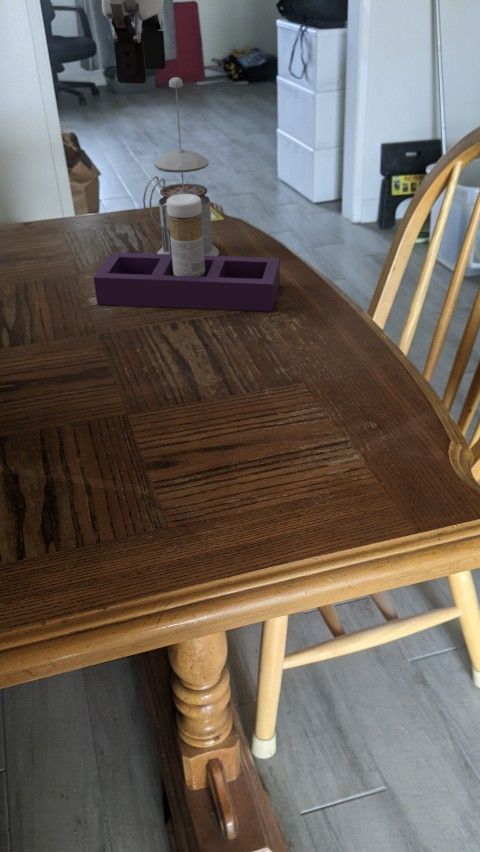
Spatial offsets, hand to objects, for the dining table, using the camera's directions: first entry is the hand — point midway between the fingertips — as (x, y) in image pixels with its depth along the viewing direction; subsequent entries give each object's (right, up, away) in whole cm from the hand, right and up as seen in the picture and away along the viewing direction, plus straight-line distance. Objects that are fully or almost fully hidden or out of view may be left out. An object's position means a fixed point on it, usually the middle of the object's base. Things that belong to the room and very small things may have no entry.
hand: (142, 75), depth 91 cm
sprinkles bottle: (+4, -21, +19) cm, 29 cm away
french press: (+1, -12, +32) cm, 34 cm away
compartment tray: (+4, -21, +19) cm, 29 cm away
